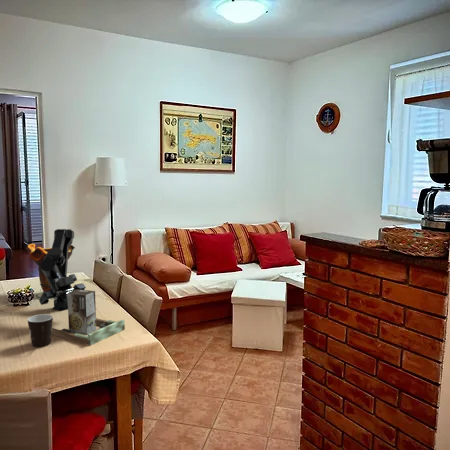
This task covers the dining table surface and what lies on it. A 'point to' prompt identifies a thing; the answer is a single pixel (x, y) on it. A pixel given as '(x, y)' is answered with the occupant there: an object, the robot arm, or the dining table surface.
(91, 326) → the coffee box
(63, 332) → the rectangular frame
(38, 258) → the decorative vase
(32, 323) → the coffee mug
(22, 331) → the dining table surface
